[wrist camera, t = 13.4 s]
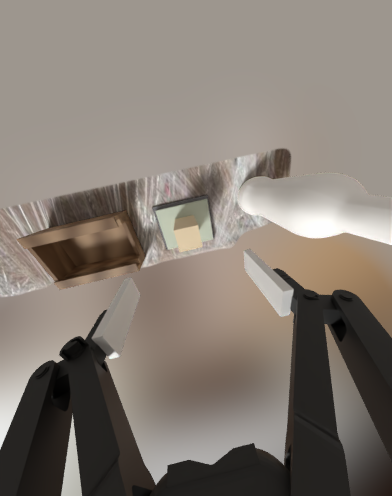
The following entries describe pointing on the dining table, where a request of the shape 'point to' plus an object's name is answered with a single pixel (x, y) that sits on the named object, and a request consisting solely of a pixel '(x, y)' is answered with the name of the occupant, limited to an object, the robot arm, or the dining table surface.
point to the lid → (186, 225)
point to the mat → (180, 204)
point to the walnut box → (87, 249)
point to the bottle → (319, 205)
